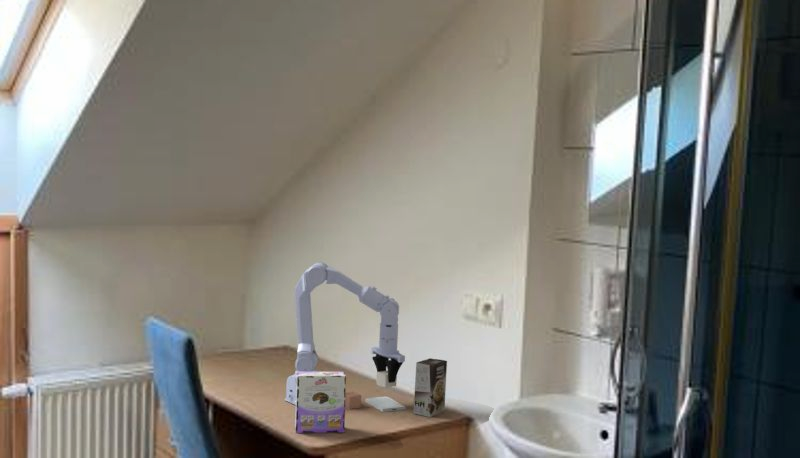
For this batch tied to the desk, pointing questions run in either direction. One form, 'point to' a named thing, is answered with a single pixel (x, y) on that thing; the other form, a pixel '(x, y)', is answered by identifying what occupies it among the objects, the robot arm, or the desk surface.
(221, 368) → the desk surface
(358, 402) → the brown block
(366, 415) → the desk surface
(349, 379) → the desk surface
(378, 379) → the cream block
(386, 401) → the hard drive
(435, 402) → the coffee box
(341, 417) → the candy box
